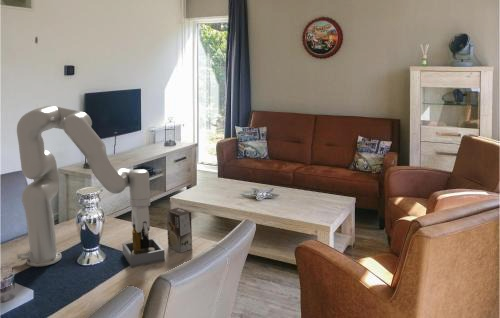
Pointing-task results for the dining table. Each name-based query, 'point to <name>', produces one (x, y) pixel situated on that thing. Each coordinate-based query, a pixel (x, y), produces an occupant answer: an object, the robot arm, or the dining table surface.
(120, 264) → the dining table surface
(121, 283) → the dining table surface
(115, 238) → the dining table surface
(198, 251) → the dining table surface
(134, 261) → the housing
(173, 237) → the coffee box
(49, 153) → the robot arm
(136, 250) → the condiment
